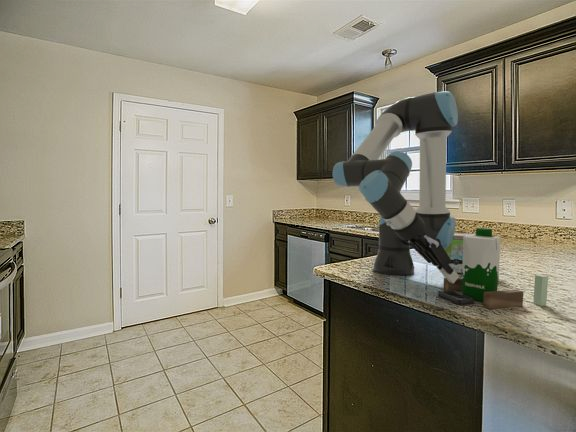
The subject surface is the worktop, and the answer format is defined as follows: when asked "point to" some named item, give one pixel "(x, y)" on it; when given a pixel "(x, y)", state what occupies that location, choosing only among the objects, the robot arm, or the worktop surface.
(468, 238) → the soya milk
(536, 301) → the gate
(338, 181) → the robot arm
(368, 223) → the worktop surface
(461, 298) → the pit tray
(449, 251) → the tea box
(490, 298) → the channel
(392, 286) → the worktop surface
